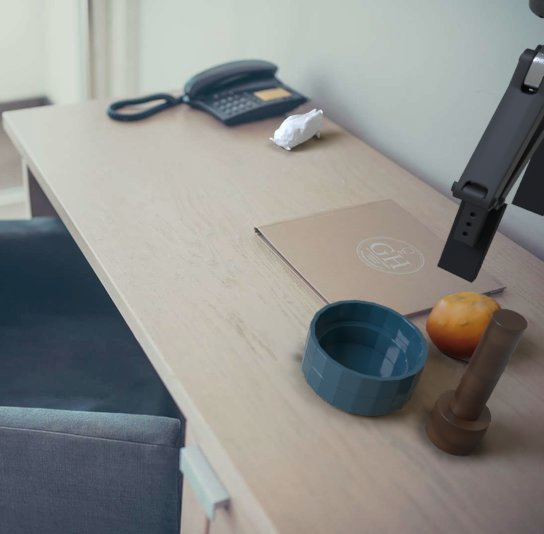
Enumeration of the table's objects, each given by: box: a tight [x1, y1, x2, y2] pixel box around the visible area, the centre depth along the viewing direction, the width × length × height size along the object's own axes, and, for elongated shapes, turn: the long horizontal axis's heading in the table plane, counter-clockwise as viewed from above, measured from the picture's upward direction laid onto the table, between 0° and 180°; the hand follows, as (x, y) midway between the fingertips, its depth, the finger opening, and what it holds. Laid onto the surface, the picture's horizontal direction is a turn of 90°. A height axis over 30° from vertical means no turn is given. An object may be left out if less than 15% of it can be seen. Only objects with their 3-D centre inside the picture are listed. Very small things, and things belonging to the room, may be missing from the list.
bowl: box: [301, 299, 430, 417], centre depth 69 cm, size 12×12×6 cm
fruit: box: [425, 291, 503, 363], centre depth 74 cm, size 8×8×8 cm
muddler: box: [425, 308, 528, 457], centre depth 60 cm, size 5×5×16 cm
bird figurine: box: [269, 108, 324, 151], centre depth 114 cm, size 5×7×10 cm
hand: (494, 238), depth 52 cm, fingers open, 13 cm apart
